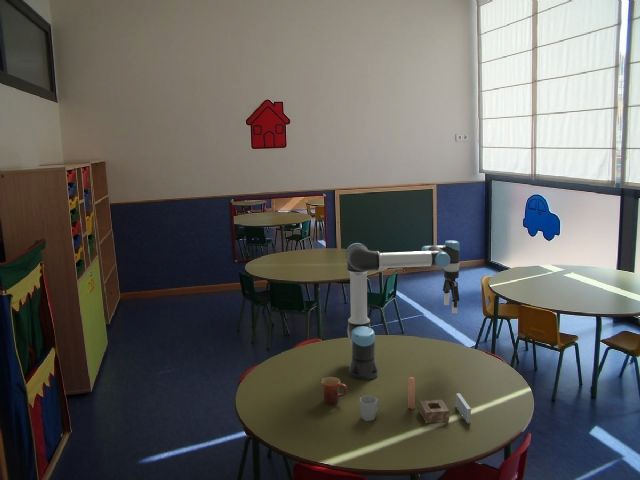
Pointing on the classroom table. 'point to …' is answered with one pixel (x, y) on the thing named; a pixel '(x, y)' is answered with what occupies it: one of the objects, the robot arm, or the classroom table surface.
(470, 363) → the classroom table surface
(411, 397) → the dowel
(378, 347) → the classroom table surface
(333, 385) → the mug
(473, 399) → the classroom table surface
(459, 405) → the base
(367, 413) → the cup
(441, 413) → the block
